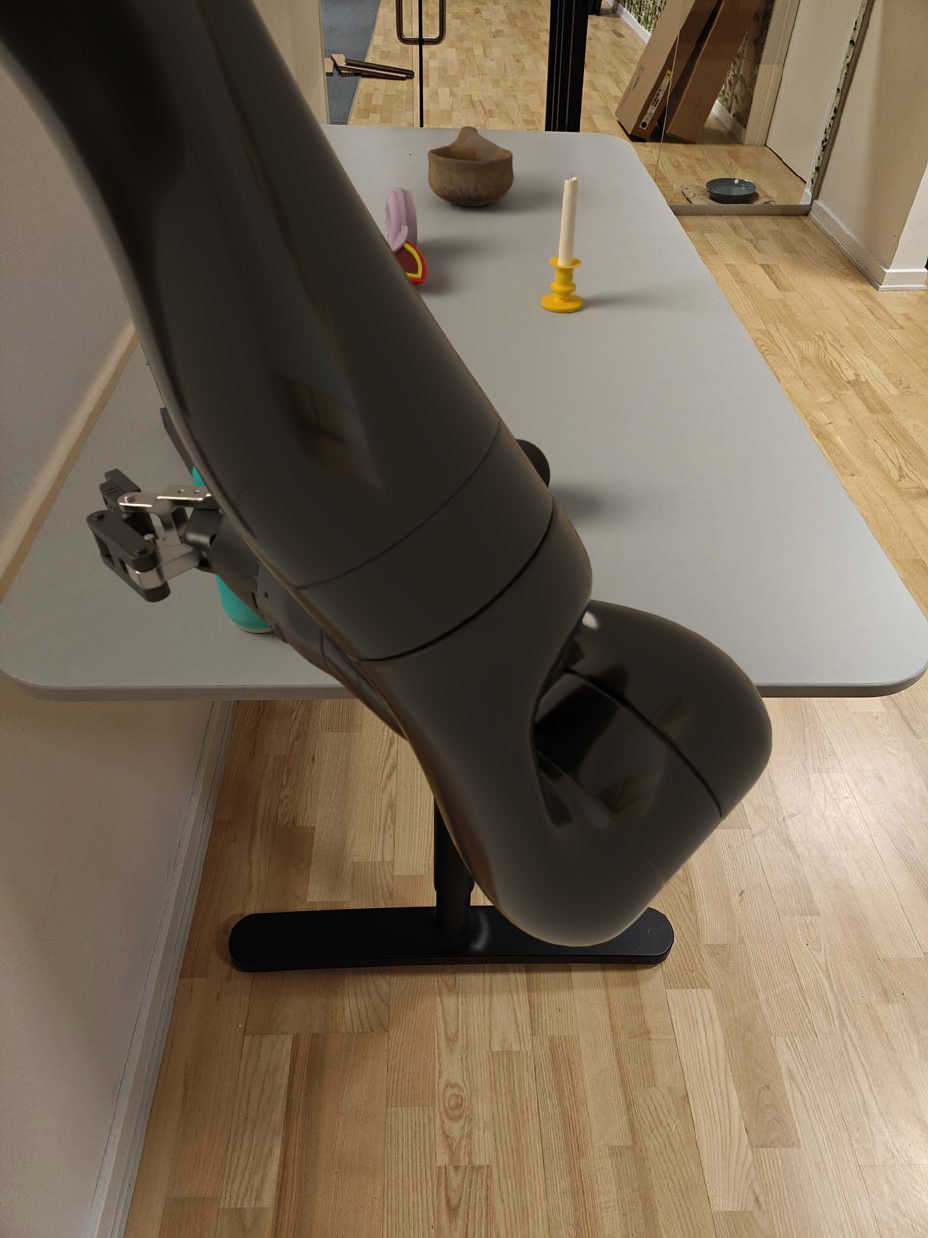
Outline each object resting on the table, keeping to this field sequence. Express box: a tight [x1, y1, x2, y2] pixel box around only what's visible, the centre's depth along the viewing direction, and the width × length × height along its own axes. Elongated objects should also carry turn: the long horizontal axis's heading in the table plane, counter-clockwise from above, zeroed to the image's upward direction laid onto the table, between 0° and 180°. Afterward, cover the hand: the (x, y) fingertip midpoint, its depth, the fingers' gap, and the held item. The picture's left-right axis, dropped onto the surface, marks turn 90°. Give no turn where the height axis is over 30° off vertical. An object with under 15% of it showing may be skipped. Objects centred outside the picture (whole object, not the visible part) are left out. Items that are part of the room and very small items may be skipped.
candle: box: [541, 174, 584, 314], centre depth 111 cm, size 5×5×16 cm
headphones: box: [384, 187, 428, 286], centre depth 121 cm, size 20×10×20 cm
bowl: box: [427, 125, 515, 207], centre depth 144 cm, size 18×14×10 cm
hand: (188, 458), depth 51 cm, fingers open, 8 cm apart
